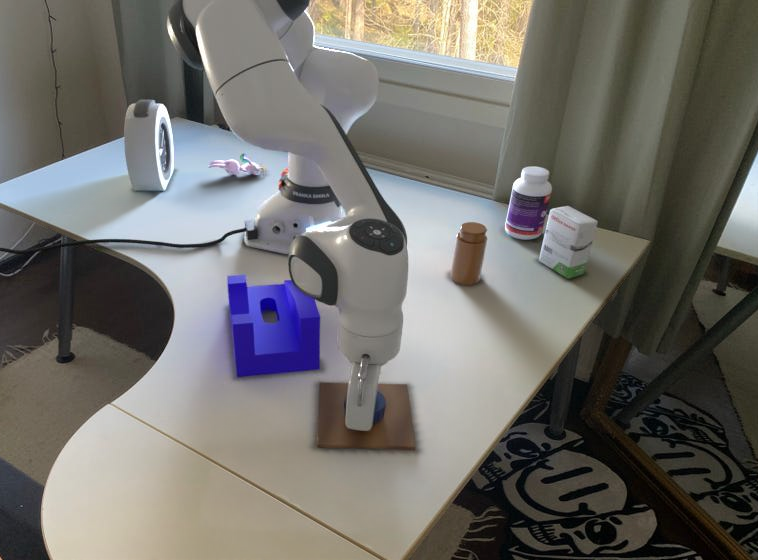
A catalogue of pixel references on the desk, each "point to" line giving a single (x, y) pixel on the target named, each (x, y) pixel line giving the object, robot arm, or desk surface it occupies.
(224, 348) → the desk surface
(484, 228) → the jar
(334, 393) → the coaster
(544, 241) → the ink box
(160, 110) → the alarm clock
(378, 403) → the lid
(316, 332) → the bracket
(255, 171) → the rabbit figure
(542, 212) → the pill bottle
